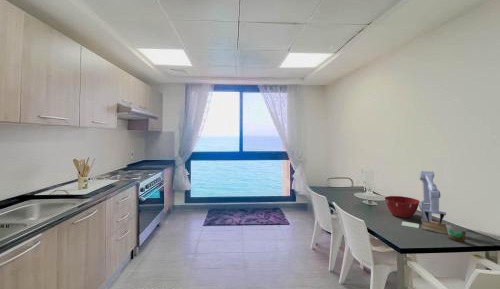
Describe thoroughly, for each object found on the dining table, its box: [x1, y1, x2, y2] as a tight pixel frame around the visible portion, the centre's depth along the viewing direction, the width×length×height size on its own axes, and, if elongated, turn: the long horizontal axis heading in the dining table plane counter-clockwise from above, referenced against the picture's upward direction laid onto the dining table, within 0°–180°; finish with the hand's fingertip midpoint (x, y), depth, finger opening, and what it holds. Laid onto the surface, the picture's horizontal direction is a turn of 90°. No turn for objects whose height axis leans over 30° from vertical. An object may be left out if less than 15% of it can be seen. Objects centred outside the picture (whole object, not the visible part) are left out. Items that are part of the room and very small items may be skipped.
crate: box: [421, 220, 451, 235], centre depth 197 cm, size 13×18×4 cm
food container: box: [446, 222, 468, 243], centre depth 176 cm, size 12×6×10 cm, turn 21°
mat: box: [400, 221, 420, 229], centre depth 207 cm, size 12×12×1 cm
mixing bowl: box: [384, 195, 421, 219], centre depth 234 cm, size 28×28×16 cm
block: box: [431, 220, 439, 227], centre depth 198 cm, size 4×4×6 cm
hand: (434, 222), depth 198 cm, fingers open, 7 cm apart
